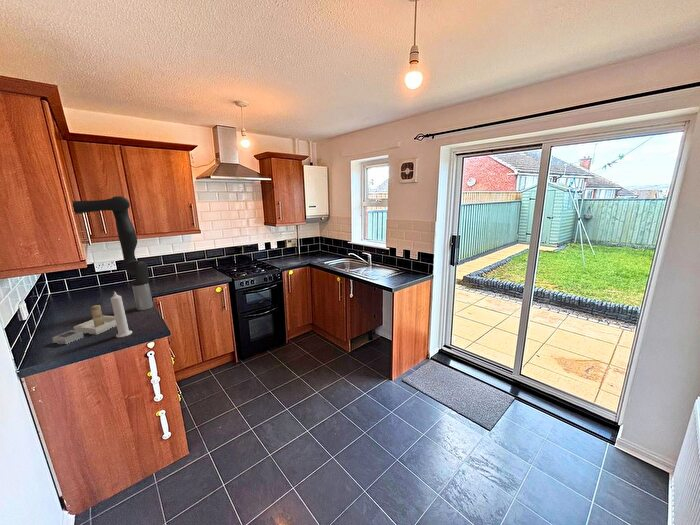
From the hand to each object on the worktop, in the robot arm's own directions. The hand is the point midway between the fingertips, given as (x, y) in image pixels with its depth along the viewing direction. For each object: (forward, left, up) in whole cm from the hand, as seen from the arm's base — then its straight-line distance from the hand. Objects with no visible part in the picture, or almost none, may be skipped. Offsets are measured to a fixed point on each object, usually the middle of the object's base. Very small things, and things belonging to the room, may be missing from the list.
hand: (64, 267), depth 163 cm
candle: (+29, +30, -36) cm, 55 cm away
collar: (+23, +4, -36) cm, 43 cm away
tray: (+10, +14, -36) cm, 40 cm away
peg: (+10, +13, -35) cm, 39 cm away
